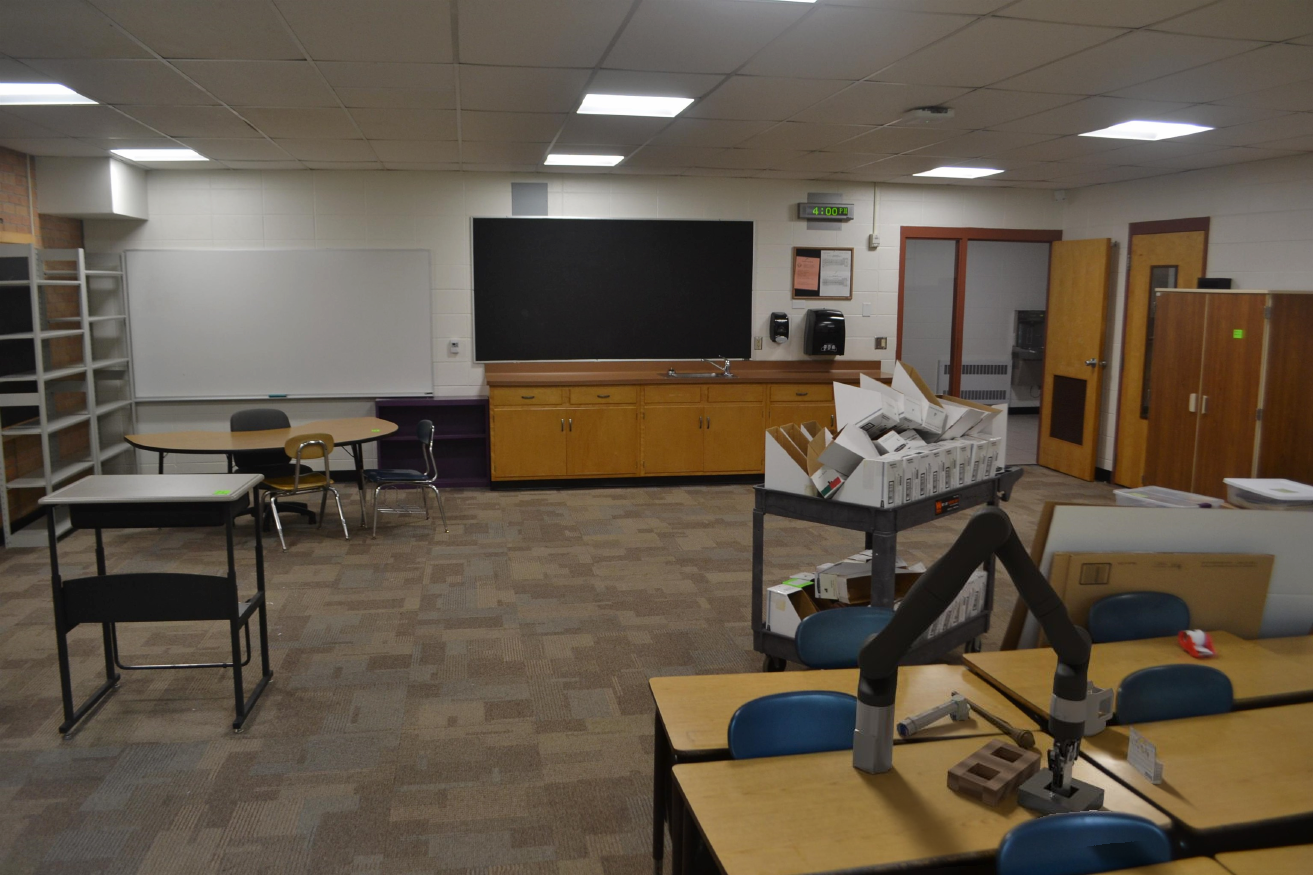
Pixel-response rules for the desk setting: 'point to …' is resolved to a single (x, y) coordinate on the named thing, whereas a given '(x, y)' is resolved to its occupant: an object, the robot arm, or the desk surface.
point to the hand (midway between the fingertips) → (1061, 782)
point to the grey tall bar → (1065, 781)
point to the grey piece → (935, 715)
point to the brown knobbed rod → (1005, 726)
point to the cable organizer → (1097, 708)
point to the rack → (993, 771)
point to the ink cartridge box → (1144, 758)
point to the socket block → (1046, 802)
